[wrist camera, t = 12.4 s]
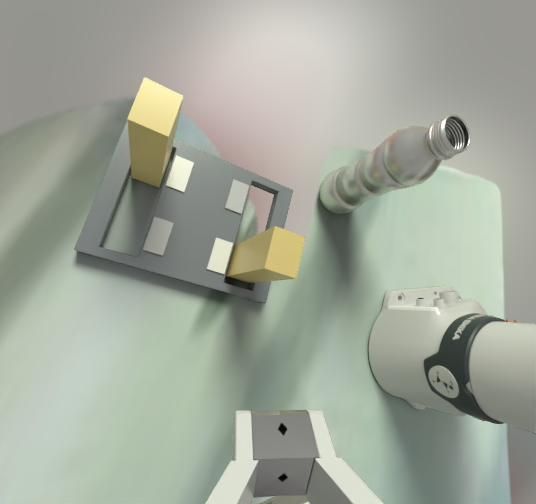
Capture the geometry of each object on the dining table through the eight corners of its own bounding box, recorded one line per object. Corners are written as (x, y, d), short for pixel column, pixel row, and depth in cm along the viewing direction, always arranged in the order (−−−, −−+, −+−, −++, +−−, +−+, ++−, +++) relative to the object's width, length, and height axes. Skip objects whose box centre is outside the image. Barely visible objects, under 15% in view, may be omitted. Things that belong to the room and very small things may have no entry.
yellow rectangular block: (234, 246, 39) (275, 225, 27) (256, 253, 40) (305, 237, 28) (225, 276, 38) (264, 268, 26) (248, 283, 39) (296, 278, 27)
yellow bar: (143, 148, 36) (144, 77, 24) (169, 159, 37) (183, 96, 25) (131, 177, 35) (127, 118, 23) (159, 187, 36) (168, 136, 24)
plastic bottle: (305, 192, 45) (420, 122, 26) (332, 167, 47) (454, 87, 29) (332, 225, 46) (460, 180, 27) (357, 199, 48) (489, 142, 30)
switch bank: (128, 125, 36) (127, 117, 35) (288, 193, 43) (293, 189, 42) (76, 251, 32) (73, 249, 31) (261, 302, 40) (266, 303, 38)
